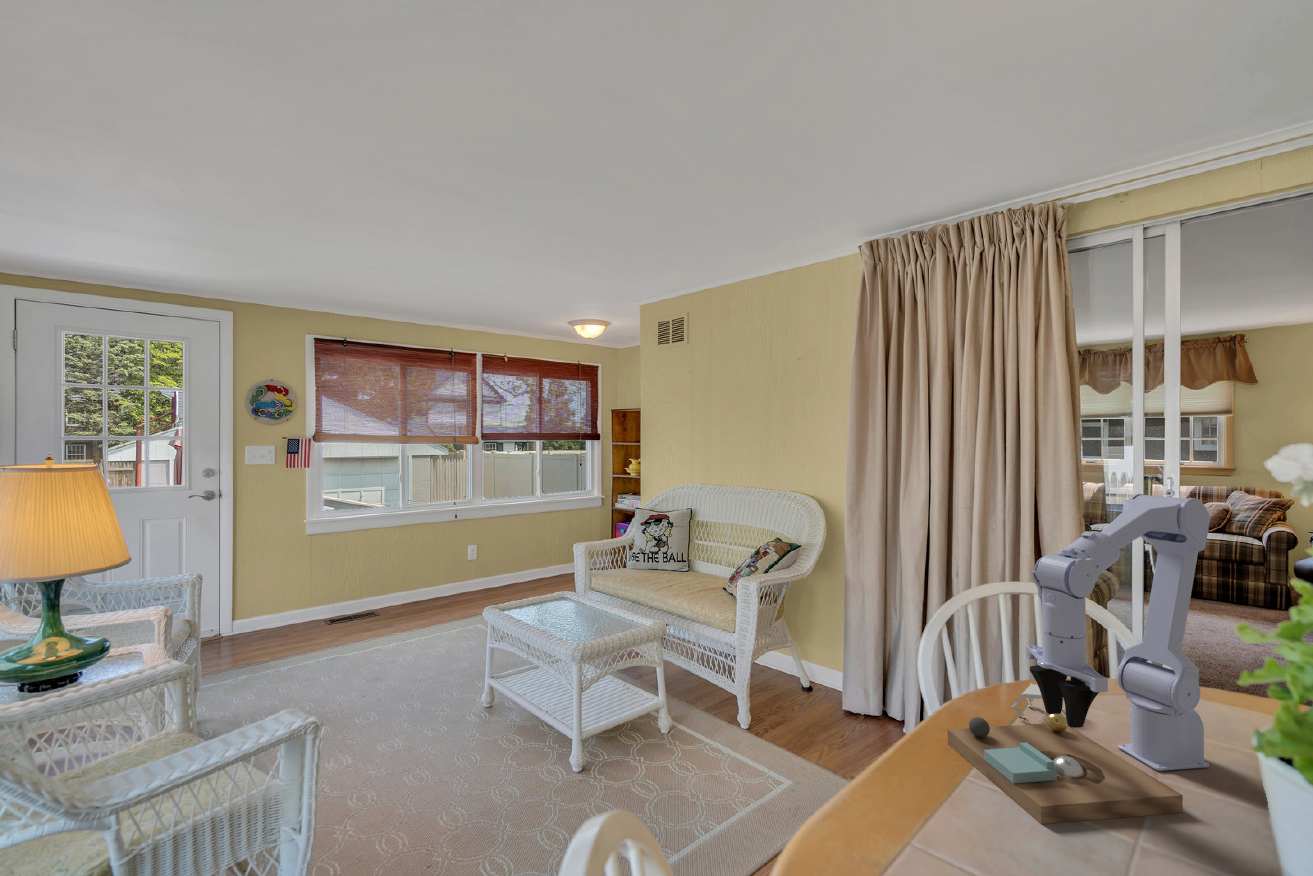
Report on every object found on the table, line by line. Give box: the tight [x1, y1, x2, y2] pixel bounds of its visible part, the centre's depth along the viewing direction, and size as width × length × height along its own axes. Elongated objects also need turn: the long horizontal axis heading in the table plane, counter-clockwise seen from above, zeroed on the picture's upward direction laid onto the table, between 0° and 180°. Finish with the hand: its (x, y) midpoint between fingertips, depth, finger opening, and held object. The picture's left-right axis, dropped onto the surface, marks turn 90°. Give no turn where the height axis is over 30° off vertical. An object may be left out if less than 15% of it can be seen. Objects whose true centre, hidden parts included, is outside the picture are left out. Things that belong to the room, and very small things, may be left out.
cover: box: [984, 742, 1057, 783], centre depth 97 cm, size 7×7×2 cm
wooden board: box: [947, 722, 1184, 825], centre depth 100 cm, size 22×23×2 cm
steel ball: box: [1053, 756, 1084, 778], centre depth 97 cm, size 4×4×4 cm
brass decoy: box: [1045, 713, 1068, 732], centre depth 109 cm, size 3×3×3 cm
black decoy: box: [968, 716, 991, 737], centre depth 108 cm, size 3×3×3 cm
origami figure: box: [1010, 682, 1066, 718], centre depth 122 cm, size 12×8×5 cm
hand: (1064, 719), depth 98 cm, fingers open, 4 cm apart
